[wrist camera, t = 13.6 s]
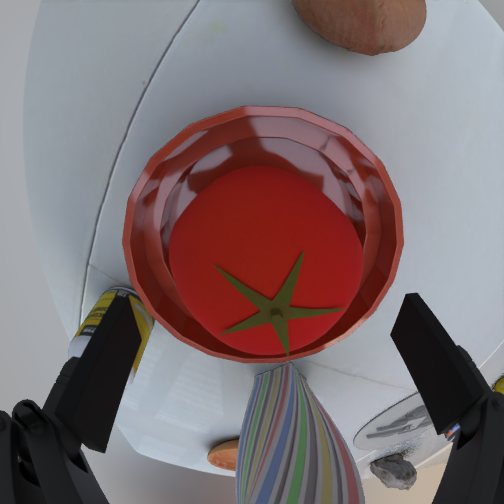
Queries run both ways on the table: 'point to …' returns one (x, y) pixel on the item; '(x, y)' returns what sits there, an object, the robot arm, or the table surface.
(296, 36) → the table surface
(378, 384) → the table surface
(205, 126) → the red bowl
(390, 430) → the plate
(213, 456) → the saucer
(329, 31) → the onion
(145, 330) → the pill bottle
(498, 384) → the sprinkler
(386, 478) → the rock
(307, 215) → the tomato
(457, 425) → the toy car
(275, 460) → the vase
